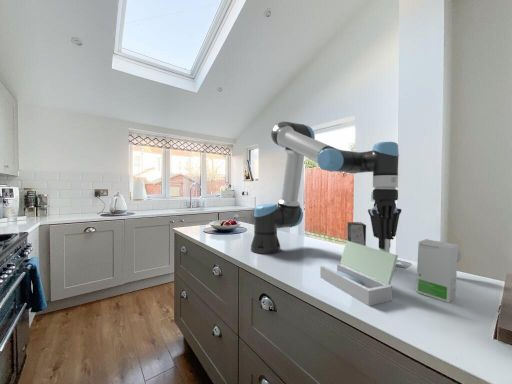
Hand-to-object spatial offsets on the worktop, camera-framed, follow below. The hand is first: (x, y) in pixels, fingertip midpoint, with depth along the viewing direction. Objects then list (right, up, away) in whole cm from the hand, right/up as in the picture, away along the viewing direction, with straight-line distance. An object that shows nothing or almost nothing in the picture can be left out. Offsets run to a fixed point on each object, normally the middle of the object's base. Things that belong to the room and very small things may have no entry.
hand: (384, 257), depth 79 cm
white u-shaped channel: (-13, -8, -5) cm, 16 cm away
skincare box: (+10, -8, -10) cm, 16 cm away
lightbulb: (+26, -8, +4) cm, 27 cm away
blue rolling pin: (-14, -8, -4) cm, 16 cm away
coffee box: (+1, -8, +25) cm, 26 cm away
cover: (-8, 0, -3) cm, 9 cm away
